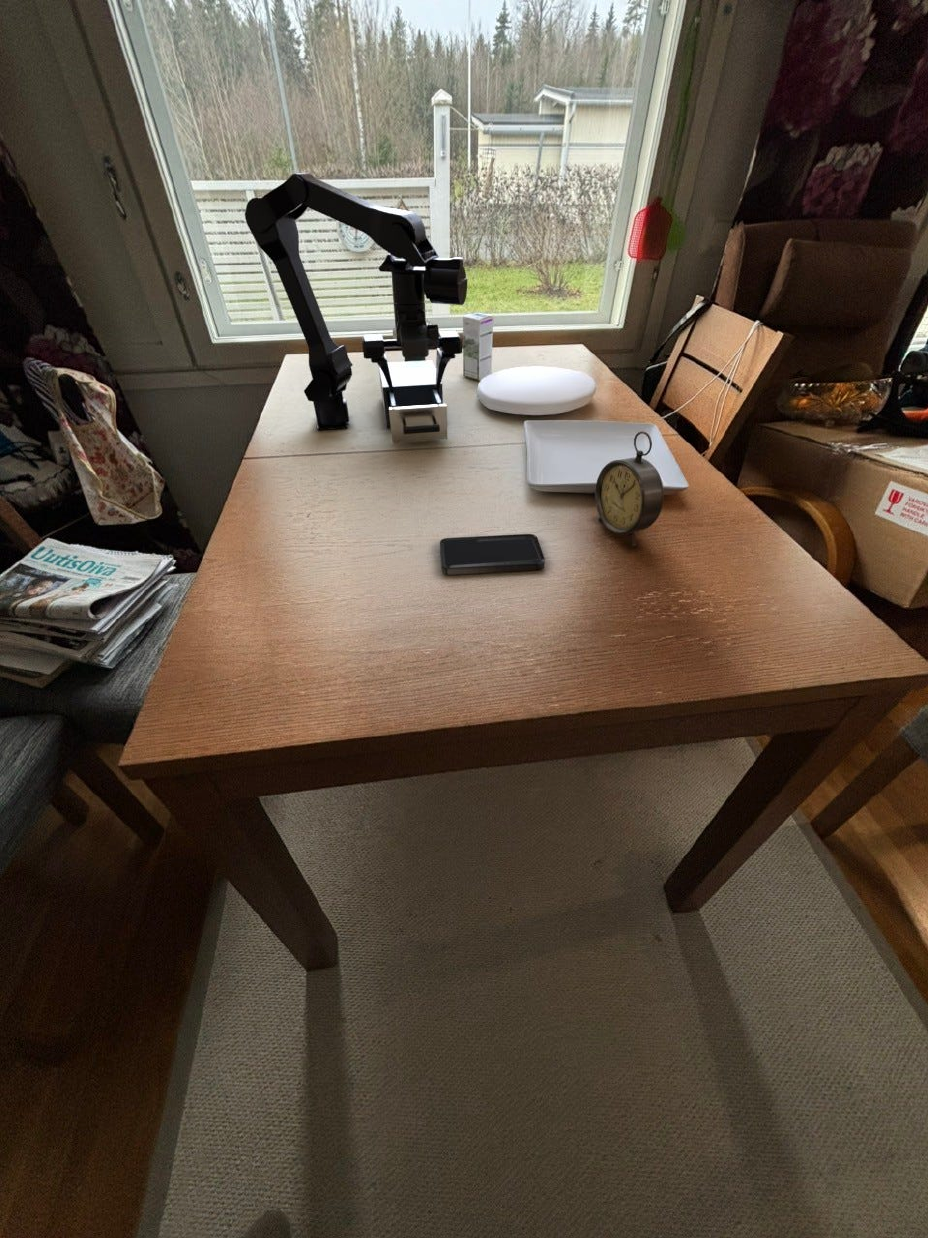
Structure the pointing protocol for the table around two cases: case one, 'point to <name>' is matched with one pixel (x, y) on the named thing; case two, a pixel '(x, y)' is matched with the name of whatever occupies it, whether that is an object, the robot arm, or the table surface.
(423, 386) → the cabinet
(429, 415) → the drawer
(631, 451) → the square plate
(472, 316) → the syrup box
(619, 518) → the alarm clock
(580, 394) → the white rounded disc
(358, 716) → the table surface
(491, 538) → the phone
